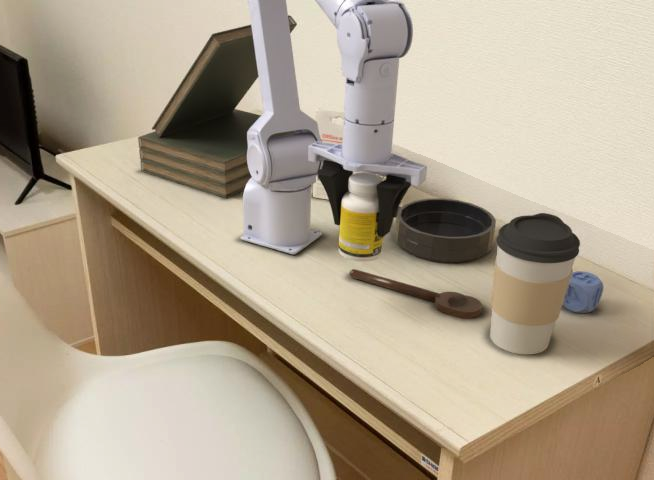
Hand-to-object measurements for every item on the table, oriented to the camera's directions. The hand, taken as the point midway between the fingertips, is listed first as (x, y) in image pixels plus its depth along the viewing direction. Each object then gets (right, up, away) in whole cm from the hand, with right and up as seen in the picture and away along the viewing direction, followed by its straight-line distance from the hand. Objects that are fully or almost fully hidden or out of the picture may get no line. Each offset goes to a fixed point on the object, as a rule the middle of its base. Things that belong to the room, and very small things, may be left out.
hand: (361, 227), depth 97 cm
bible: (-21, +17, +45) cm, 53 cm away
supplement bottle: (0, -3, +2) cm, 4 cm away
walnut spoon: (+7, -8, +7) cm, 13 cm away
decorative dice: (+28, -9, +6) cm, 30 cm away
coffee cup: (+19, -14, -2) cm, 23 cm away
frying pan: (+13, +1, +21) cm, 25 cm away
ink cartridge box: (-1, +10, +35) cm, 36 cm away
